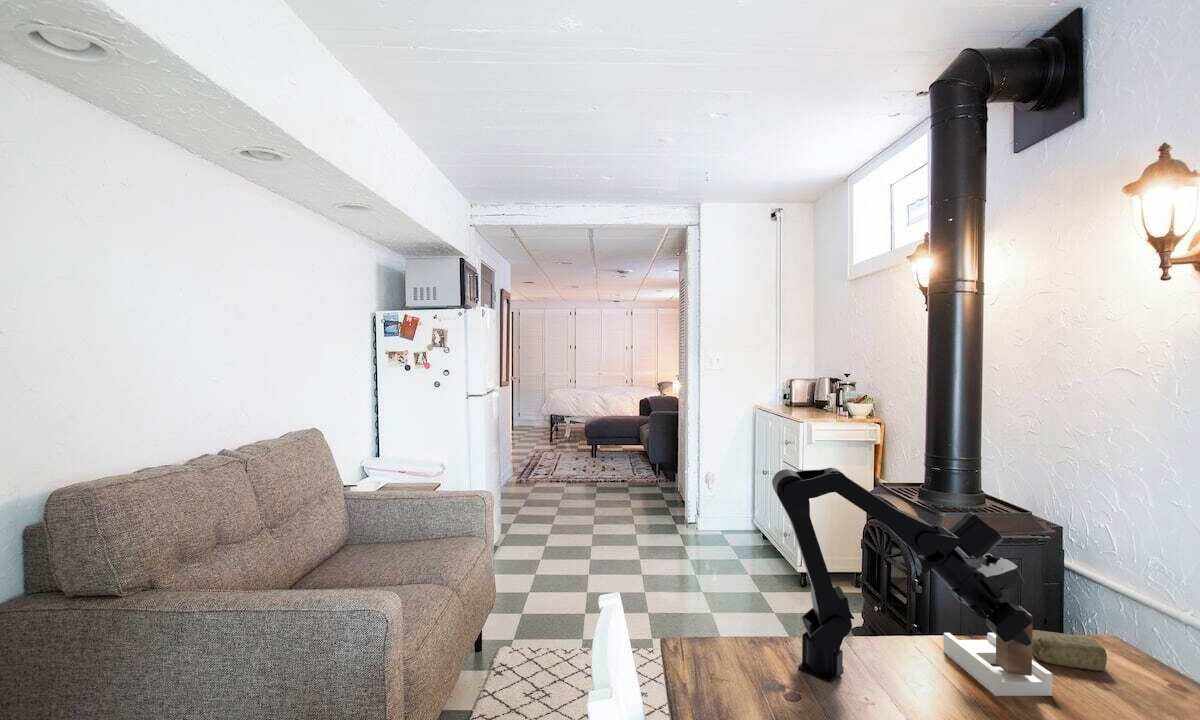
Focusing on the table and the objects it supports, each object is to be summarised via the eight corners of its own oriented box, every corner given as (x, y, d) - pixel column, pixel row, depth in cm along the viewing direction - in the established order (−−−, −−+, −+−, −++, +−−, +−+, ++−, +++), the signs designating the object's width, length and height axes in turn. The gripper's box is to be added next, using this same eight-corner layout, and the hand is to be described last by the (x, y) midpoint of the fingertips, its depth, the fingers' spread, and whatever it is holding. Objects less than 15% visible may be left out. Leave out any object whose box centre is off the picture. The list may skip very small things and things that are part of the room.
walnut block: (1007, 673, 102) (1008, 613, 102) (995, 661, 106) (996, 604, 106) (1031, 675, 101) (1032, 615, 101) (1019, 664, 105) (1019, 605, 105)
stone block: (1109, 675, 108) (1109, 649, 108) (1038, 665, 112) (1038, 640, 112) (1093, 659, 114) (1093, 635, 114) (1026, 650, 117) (1026, 626, 117)
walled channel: (995, 695, 101) (995, 673, 101) (943, 651, 116) (943, 632, 116) (1052, 695, 101) (1052, 673, 101) (992, 651, 116) (993, 632, 116)
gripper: (1020, 564, 95) (1092, 635, 93) (967, 530, 113) (1026, 589, 112) (969, 606, 96) (1039, 677, 95) (924, 566, 115) (983, 624, 113)
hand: (1021, 638), depth 104 cm, fingers open, 4 cm apart
